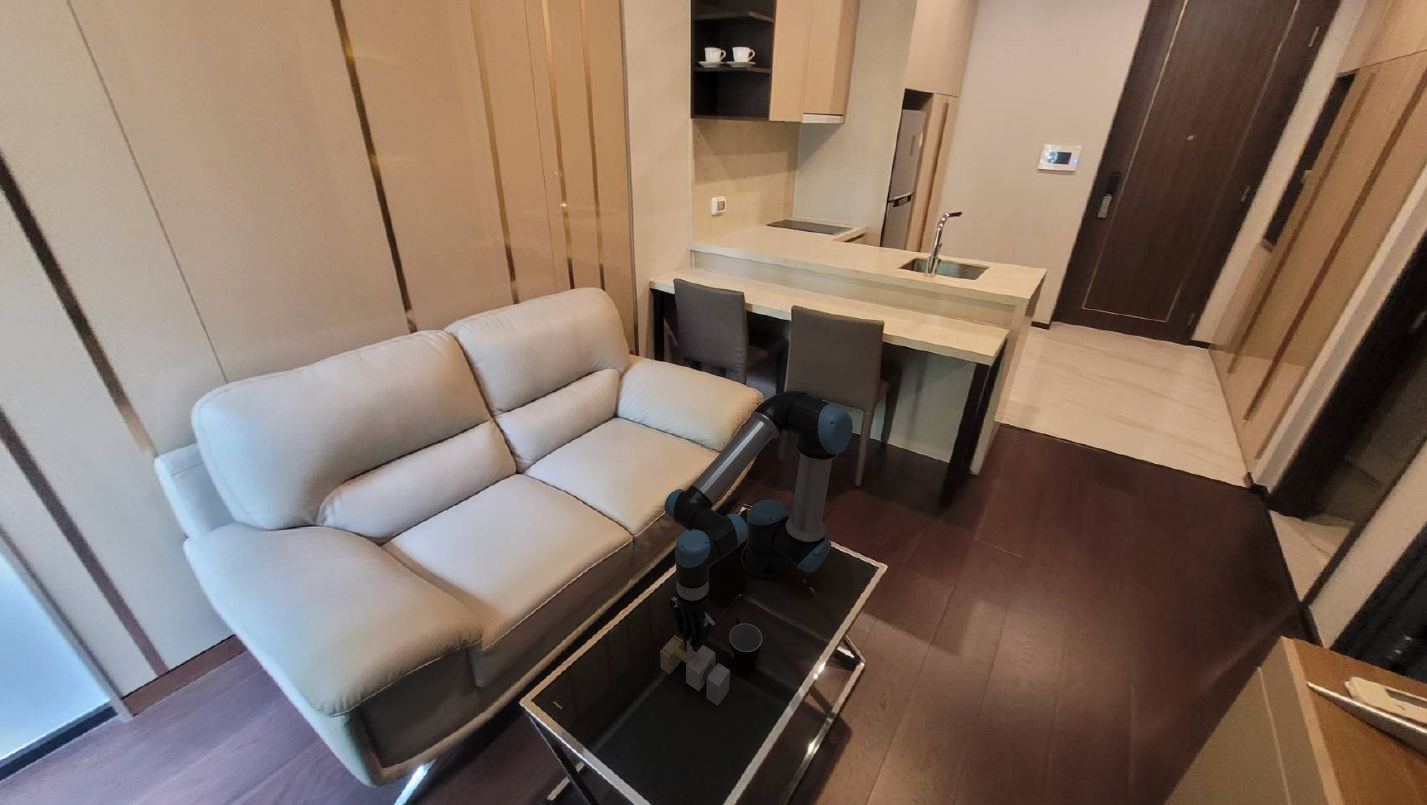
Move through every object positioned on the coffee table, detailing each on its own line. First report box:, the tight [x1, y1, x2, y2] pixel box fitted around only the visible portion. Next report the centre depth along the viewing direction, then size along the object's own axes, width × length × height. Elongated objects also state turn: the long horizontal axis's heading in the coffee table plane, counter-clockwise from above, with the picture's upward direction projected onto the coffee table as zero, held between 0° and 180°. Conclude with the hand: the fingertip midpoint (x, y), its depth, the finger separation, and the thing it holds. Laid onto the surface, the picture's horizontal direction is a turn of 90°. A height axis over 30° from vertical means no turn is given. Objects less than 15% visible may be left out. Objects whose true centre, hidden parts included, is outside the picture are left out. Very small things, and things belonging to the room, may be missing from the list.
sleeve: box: [685, 644, 717, 692], centre depth 132 cm, size 4×7×7 cm, turn 145°
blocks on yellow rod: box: [659, 634, 731, 707], centre depth 134 cm, size 18×6×8 cm, turn 55°
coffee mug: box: [728, 617, 763, 674], centre depth 139 cm, size 12×9×10 cm
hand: (692, 655), depth 132 cm, fingers closed
